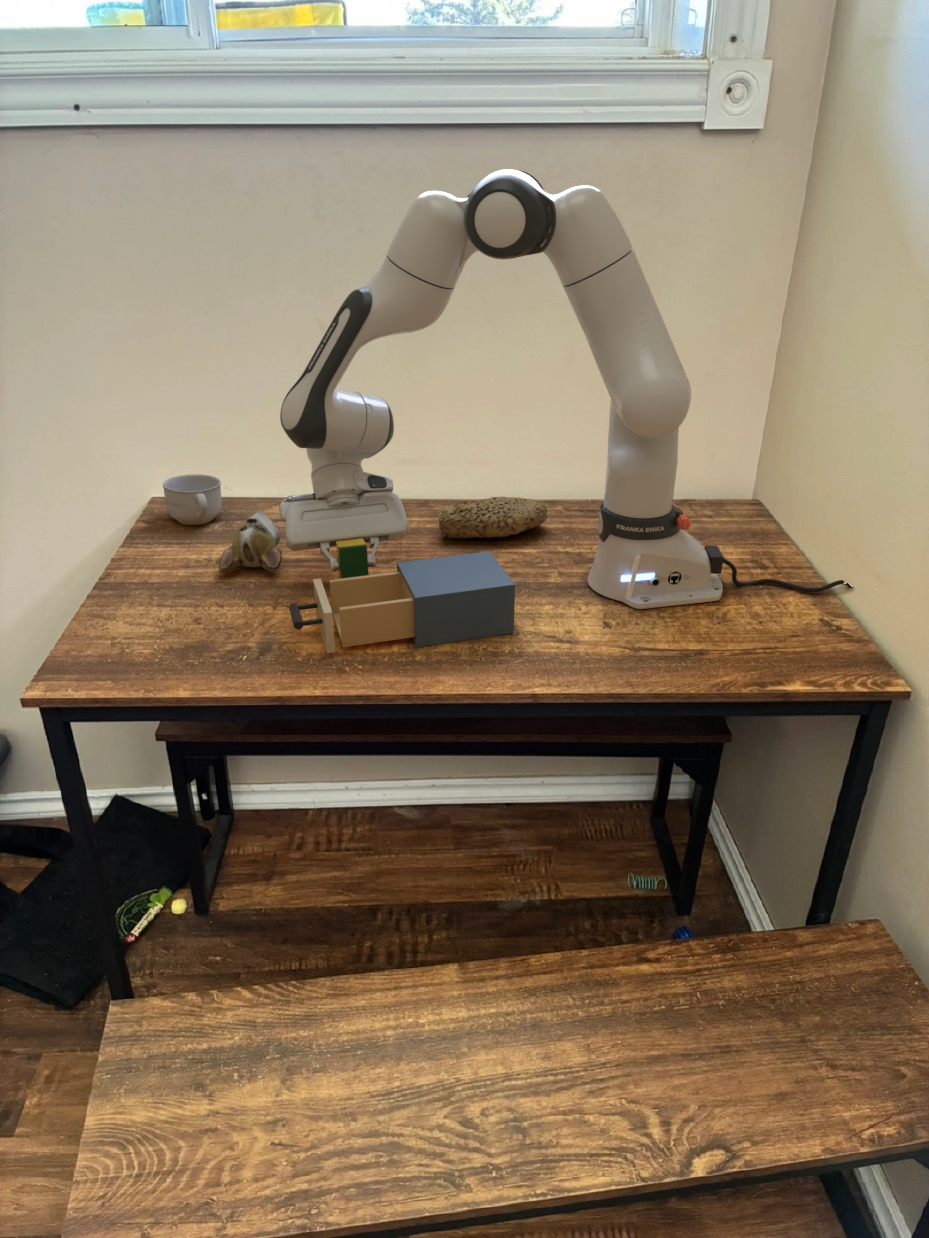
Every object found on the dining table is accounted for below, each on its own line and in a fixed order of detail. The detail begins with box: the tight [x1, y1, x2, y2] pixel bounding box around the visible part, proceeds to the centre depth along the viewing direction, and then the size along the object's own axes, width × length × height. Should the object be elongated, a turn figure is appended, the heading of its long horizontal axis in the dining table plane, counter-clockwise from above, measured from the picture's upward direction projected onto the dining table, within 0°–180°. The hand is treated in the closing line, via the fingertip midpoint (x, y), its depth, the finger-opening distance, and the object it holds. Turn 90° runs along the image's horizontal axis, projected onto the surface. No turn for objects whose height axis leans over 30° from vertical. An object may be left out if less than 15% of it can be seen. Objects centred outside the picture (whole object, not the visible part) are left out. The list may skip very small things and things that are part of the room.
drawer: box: [288, 571, 415, 654], centre depth 133 cm, size 19×11×7 cm, turn 106°
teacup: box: [162, 473, 222, 526], centre depth 171 cm, size 14×11×8 cm
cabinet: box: [396, 550, 516, 648], centre depth 137 cm, size 15×12×8 cm
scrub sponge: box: [335, 538, 369, 579], centre depth 145 cm, size 4×3×9 cm
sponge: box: [438, 496, 549, 539], centre depth 167 cm, size 13×8×20 cm
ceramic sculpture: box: [218, 509, 283, 573], centre depth 155 cm, size 11×9×15 cm
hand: (353, 568), depth 144 cm, fingers closed on scrub sponge, 4 cm apart
